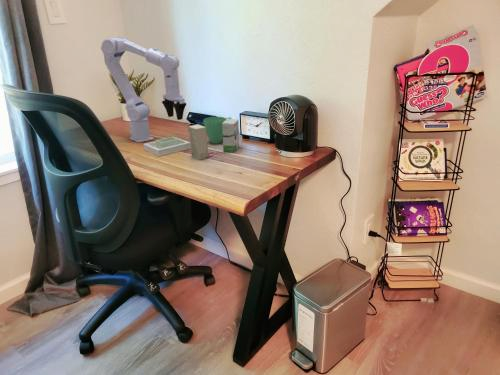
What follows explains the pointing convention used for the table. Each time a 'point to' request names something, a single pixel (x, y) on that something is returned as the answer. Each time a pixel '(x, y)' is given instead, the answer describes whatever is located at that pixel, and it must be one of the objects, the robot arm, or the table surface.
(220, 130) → the mug
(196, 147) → the skincare box
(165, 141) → the small crate
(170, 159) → the table surface
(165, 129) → the table surface
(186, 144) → the white square tray
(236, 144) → the ink box
